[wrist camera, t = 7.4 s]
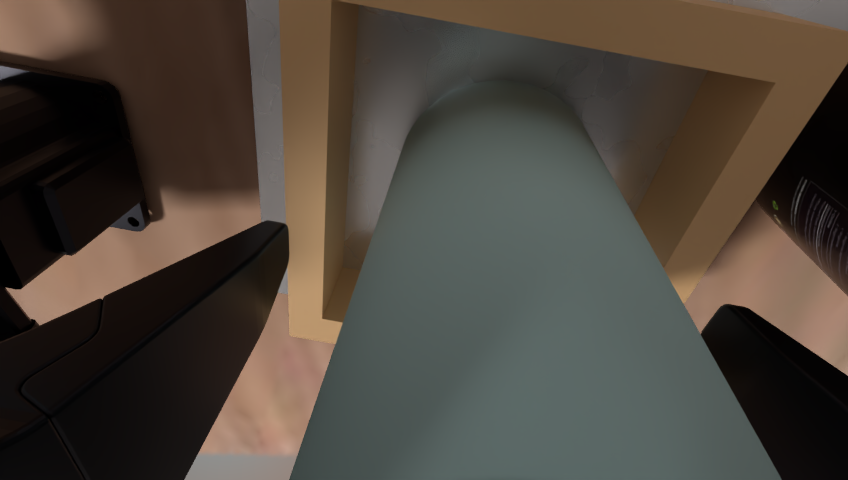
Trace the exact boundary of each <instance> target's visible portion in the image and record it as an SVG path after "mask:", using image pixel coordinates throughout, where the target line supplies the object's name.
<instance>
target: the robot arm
mask: <svg viewBox="0 0 848 480" xmlns="http://www.w3.org/2000/svg"><path fill="white" fill-rule="evenodd" d="M100 91H101V92H102V93H103V94H104V95H105V97H106V98H107V100H105V99H104V98H103V97H102V96H101V94H100ZM135 218H136V219H137V220H138V221H137V220H136V219H135ZM149 224H150V216H149V212H148V208H147V204H146V200H145V195H144V191H143V187H142V183H141V179H140V174H139V170H138V166H137V162H136V158H135V154H134V150H133V146H132V143H131V138H130V134H129V130H128V126H127V122H126V118H125V114H124V110H123V106H122V102H121V97H120V95H119V92H118V91H117V89H116V88H115V87H114V86H113V85H112V84H110V83H109V82H106V81H104V80H98V79H93V78H88V77H82V76H77V75H71V74H66V73H60V72H55V71H50V70H44V69H39V68H33V67H28V66H23V65H17V64H12V63H6V62H1V61H0V480H184V479H185V477H186V475H187V473H188V471H189V469H190V468H191V466H192V464H193V462H194V460H195V458H196V456H197V454H198V453H199V451H200V449H201V447H202V445H203V443H204V441H205V439H206V437H207V436H208V434H209V432H210V430H211V428H212V426H213V424H214V422H215V420H216V419H217V417H218V415H219V413H220V411H221V409H222V407H223V405H224V403H225V401H226V400H227V398H228V396H229V394H230V392H231V390H232V388H233V386H234V384H235V383H236V381H237V379H238V377H239V375H240V373H241V371H242V369H243V367H244V366H245V364H246V362H247V360H248V358H249V356H250V354H251V352H252V350H253V349H254V347H255V345H256V343H257V341H258V339H259V337H260V335H261V333H262V331H263V329H264V327H265V324H266V322H267V319H268V317H269V314H270V311H271V309H272V306H273V303H274V301H275V298H276V296H277V293H278V290H279V288H280V285H281V282H282V280H283V277H284V275H285V272H286V269H287V266H288V263H289V229H288V226H287V225H286V224H285V223H281V222H276V221H271V220H266V221H264V222H261V223H259V224H257V225H255V226H253V227H251V228H249V229H247V230H244V231H242V232H240V233H238V234H236V235H234V236H232V237H229V238H227V239H225V240H223V241H221V242H219V243H217V244H215V245H212V246H210V247H208V248H206V249H204V250H202V251H200V252H198V253H195V254H193V255H191V256H189V257H187V258H185V259H183V260H181V261H178V262H176V263H174V264H172V265H170V266H168V267H166V268H163V269H161V270H159V271H157V272H155V273H153V274H151V275H149V276H146V277H144V278H142V279H140V280H138V281H136V282H134V283H131V284H129V285H127V286H125V287H123V288H121V289H119V290H117V291H114V292H112V293H110V294H108V295H106V296H104V298H103V300H102V299H97V300H95V301H93V302H91V303H89V304H86V305H84V306H82V307H80V308H78V309H76V310H74V311H71V312H69V313H67V314H65V315H62V316H60V317H58V318H56V319H53V320H51V321H49V322H47V323H45V324H42V325H40V326H39V324H38V323H37V322H36V321H35V320H33V319H30V318H29V317H28V316H27V314H26V313H25V312H24V311H23V309H22V308H21V307H20V306H19V304H18V303H17V302H16V301H15V299H14V298H13V297H12V296H11V294H10V293H9V292H8V291H7V289H6V288H5V287H7V288H12V289H22V288H23V287H24V286H25V285H27V284H28V283H29V282H31V281H32V280H33V279H34V278H36V277H37V276H38V275H39V274H41V273H42V272H43V271H45V270H46V269H47V268H48V267H50V266H51V265H52V264H54V263H55V262H56V261H57V260H59V259H60V258H61V257H63V256H64V255H71V256H72V255H74V254H76V253H77V252H78V251H80V250H81V249H82V248H83V247H85V246H86V245H87V244H88V243H90V242H91V241H92V240H93V239H95V238H96V237H97V236H98V235H100V234H101V233H102V232H103V231H105V230H106V229H107V228H108V227H115V228H120V229H126V230H131V231H142V230H144V229H145V228H146V227H147V226H148V225H149ZM701 336H702V338H703V340H704V342H705V343H706V345H707V347H708V349H709V351H710V352H711V354H712V356H713V358H714V360H715V361H716V363H717V365H718V367H719V368H720V370H721V372H722V374H723V376H724V377H725V379H726V381H727V383H728V384H729V386H730V388H731V390H732V392H733V393H734V395H735V397H736V399H737V401H738V402H739V404H740V406H741V408H742V409H743V411H744V413H745V415H746V417H747V418H748V420H749V422H750V424H751V426H752V427H753V429H754V431H755V433H756V434H757V436H758V438H759V440H760V442H761V443H762V445H763V447H764V449H765V451H766V452H767V454H768V456H769V458H770V459H771V461H772V463H773V465H774V467H775V468H776V470H777V472H778V474H779V476H780V477H781V479H782V480H848V376H847V375H846V374H844V373H843V372H841V371H840V370H838V369H837V368H835V367H834V366H832V365H831V364H829V363H828V362H827V361H825V360H824V359H822V358H821V357H819V356H818V355H816V354H815V353H813V352H812V351H810V350H809V349H807V348H806V347H804V346H803V345H802V344H800V343H799V342H797V341H796V340H794V339H793V338H791V337H790V336H788V335H787V334H785V333H784V332H782V331H781V330H780V329H778V328H777V327H775V326H774V325H772V324H771V323H769V322H768V321H766V320H765V319H763V318H762V317H760V316H759V315H757V314H756V313H755V312H753V311H752V310H750V309H748V308H746V307H742V306H736V305H731V304H725V305H723V306H721V307H720V308H719V309H718V310H717V312H716V313H715V314H714V316H713V317H712V318H711V320H710V321H709V322H708V324H707V325H706V326H705V328H704V329H703V331H702V333H701Z"/></svg>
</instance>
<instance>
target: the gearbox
mask: <svg viewBox="0 0 848 480" xmlns="http://www.w3.org/2000/svg"><path fill="white" fill-rule="evenodd" d="M246 10H247V24H248V38H249V52H250V66H251V81H252V95H253V109H254V123H255V137H256V151H257V165H258V180H259V194H260V208H261V222H264V221H266V220H271V221H276V222H281V223H285V224H286V225H287V226H288V229H289V263H288V266H287V269H286V272H285V275H284V277H283V280H282V282H281V285H280V288H279V290H278V293H284V294H288V302H289V333H290V336H293V337H299V338H304V339H310V340H315V341H321V342H327V343H332V344H336V341H337V338H338V335H339V333H340V330H341V327H342V324H343V321H344V318H345V315H346V312H347V309H348V306H349V303H350V300H351V297H352V294H353V291H354V289H355V286H356V283H357V280H358V277H359V274H360V271H361V268H362V265H363V262H364V259H365V256H366V253H367V250H368V247H369V245H370V242H371V239H372V236H373V233H374V230H375V227H376V224H377V221H378V218H379V215H380V212H381V209H382V206H383V203H384V201H385V198H386V195H387V192H388V189H389V186H390V183H391V180H392V177H393V174H394V171H395V168H396V165H397V162H398V160H399V157H400V154H401V151H402V148H403V145H404V142H405V140H406V137H407V135H408V134H409V132H410V130H411V128H412V126H413V125H414V124H415V122H416V121H417V119H418V118H419V117H420V116H421V115H422V114H423V113H424V112H425V111H426V109H427V108H428V107H430V106H431V105H432V104H433V103H435V102H436V101H437V100H438V99H440V98H442V97H443V96H445V95H447V94H448V93H450V92H452V91H454V90H457V89H459V88H461V87H464V86H467V85H471V84H474V83H478V82H485V81H492V80H508V81H516V82H522V83H526V84H530V85H534V86H536V87H538V88H541V89H543V90H546V91H548V92H549V93H551V94H553V95H554V96H556V97H558V98H559V99H560V100H561V101H563V102H564V103H565V104H566V105H568V106H569V107H570V109H571V110H572V111H573V112H574V113H575V114H576V115H577V117H578V118H579V120H580V121H581V123H582V124H583V126H584V127H585V129H586V131H587V133H588V135H589V136H590V138H591V140H592V142H593V143H594V145H595V147H596V149H597V151H598V152H599V154H600V156H601V158H602V160H603V161H604V163H605V165H606V167H607V168H608V170H609V172H610V174H611V176H612V177H613V179H614V181H615V183H616V185H617V186H618V188H619V190H620V192H621V193H622V195H623V197H624V199H625V201H626V202H627V204H628V206H629V208H630V210H631V211H632V213H633V215H634V217H635V218H636V220H637V222H638V224H639V226H640V227H641V229H642V231H643V233H644V235H645V236H646V238H647V240H648V242H649V243H650V245H651V247H652V249H653V251H654V252H655V254H656V256H657V258H658V260H659V261H660V263H661V265H662V267H663V268H664V270H665V272H666V274H667V276H668V277H669V279H670V281H671V283H672V285H673V286H674V288H675V290H676V292H677V293H678V295H679V297H680V299H681V301H682V302H683V304H684V303H685V302H686V300H687V299H688V297H689V296H690V294H691V293H692V291H693V290H694V288H695V287H696V285H697V284H698V282H699V281H700V279H701V278H702V277H703V275H704V274H705V272H706V271H707V269H708V268H709V266H710V265H711V263H712V262H713V260H714V259H715V257H716V256H717V254H718V253H719V252H720V250H721V249H722V247H723V246H724V244H725V243H726V241H727V240H728V238H729V237H730V235H731V234H732V232H733V231H734V229H735V228H736V227H737V225H738V224H739V222H740V221H741V219H742V218H743V216H744V215H745V213H746V212H747V210H748V209H749V207H750V206H751V204H752V203H753V202H754V200H755V199H756V197H757V196H758V194H759V193H760V191H761V190H762V188H763V187H764V185H765V184H766V182H767V181H768V179H769V178H770V177H771V175H772V174H773V172H774V171H775V169H776V168H777V166H778V165H779V163H780V162H781V160H782V159H783V157H784V156H785V154H786V153H787V152H788V150H789V149H790V147H791V146H792V144H793V143H794V141H795V140H796V138H797V137H798V135H799V134H800V132H801V131H802V129H803V128H804V127H805V125H806V124H807V122H808V121H809V119H810V118H811V116H812V115H813V113H814V112H815V110H816V109H817V107H818V106H819V104H820V103H821V102H822V100H823V99H824V97H825V96H826V94H827V93H828V91H829V90H830V88H831V87H832V85H833V84H834V82H835V81H836V79H837V78H838V77H839V75H840V74H841V72H842V71H843V69H844V68H845V66H846V65H847V63H848V0H246Z"/></svg>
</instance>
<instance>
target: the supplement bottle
mask: <svg viewBox="0 0 848 480" xmlns="http://www.w3.org/2000/svg"><path fill="white" fill-rule="evenodd" d="M756 201H757V202H758V204H759V205H760V207H761V208H762V209H763V210H764V211H765V212H766V214H767V215H768V216H769V217H770V218H771V219H772V220H773V221H774V222H775V223H776V224H777V225H778V226H779V227H780V228H781V229H782V230H783V231H784V232H785V233H786V234H787V235H788V236H789V238H790V239H791V240H792V241H793V242H794V243H795V244H796V245H797V246H798V247H799V248H800V249H801V250H802V251H803V252H804V253H805V254H806V255H807V256H808V257H809V258H810V259H811V260H812V261H813V262H814V263H815V264H816V265H817V266H818V267H819V268H820V269H821V270H822V271H823V272H824V273H825V274H826V275H827V276H828V277H829V278H830V279H831V280H832V281H833V282H834V283H835V284H836V285H837V286H838V287H839V288H840V289H841V290H842V291H843V292H844V293H845V294H846V295H847V296H848V63H847V65H846V66H845V68H844V69H843V71H842V72H841V74H840V75H839V77H838V78H837V79H836V81H835V82H834V84H833V85H832V87H831V88H830V90H829V91H828V93H827V94H826V96H825V97H824V99H823V100H822V102H821V103H820V104H819V106H818V107H817V109H816V110H815V112H814V113H813V115H812V116H811V118H810V119H809V121H808V122H807V124H806V125H805V127H804V128H803V129H802V131H801V132H800V134H799V135H798V137H797V138H796V140H795V141H794V143H793V144H792V146H791V147H790V149H789V150H788V152H787V153H786V154H785V156H784V157H783V159H782V160H781V162H780V163H779V165H778V166H777V168H776V169H775V171H774V172H773V174H772V175H771V177H770V178H769V179H768V181H767V182H766V184H765V185H764V187H763V188H762V190H761V191H760V193H759V194H758V196H757V197H756Z"/></svg>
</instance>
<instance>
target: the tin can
mask: <svg viewBox="0 0 848 480" xmlns="http://www.w3.org/2000/svg"><path fill="white" fill-rule="evenodd" d="M289 480H782V479H781V477H780V476H779V474H778V472H777V470H776V468H775V467H774V465H773V463H772V461H771V459H770V458H769V456H768V454H767V452H766V451H765V449H764V447H763V445H762V443H761V442H760V440H759V438H758V436H757V434H756V433H755V431H754V429H753V427H752V426H751V424H750V422H749V420H748V418H747V417H746V415H745V413H744V411H743V409H742V408H741V406H740V404H739V402H738V401H737V399H736V397H735V395H734V393H733V392H732V390H731V388H730V386H729V384H728V383H727V381H726V379H725V377H724V376H723V374H722V372H721V370H720V368H719V367H718V365H717V363H716V361H715V360H714V358H713V356H712V354H711V352H710V351H709V349H708V347H707V345H706V343H705V342H704V340H703V338H702V336H701V335H700V333H699V331H698V329H697V327H696V326H695V324H694V322H693V320H692V318H691V317H690V315H689V313H688V311H687V310H686V308H685V306H684V304H683V302H682V301H681V299H680V297H679V295H678V293H677V292H676V290H675V288H674V286H673V285H672V283H671V281H670V279H669V277H668V276H667V274H666V272H665V270H664V268H663V267H662V265H661V263H660V261H659V260H658V258H657V256H656V254H655V252H654V251H653V249H652V247H651V245H650V243H649V242H648V240H647V238H646V236H645V235H644V233H643V231H642V229H641V227H640V226H639V224H638V222H637V220H636V218H635V217H634V215H633V213H632V211H631V210H630V208H629V206H628V204H627V202H626V201H625V199H624V197H623V195H622V193H621V192H620V190H619V188H618V186H617V185H616V183H615V181H614V179H613V177H612V176H611V174H610V172H609V170H608V168H607V167H606V165H605V163H604V161H603V160H602V158H601V156H600V154H599V152H598V151H597V149H596V147H595V145H594V143H593V142H592V140H591V138H590V136H589V135H588V133H587V131H586V129H585V127H584V126H583V124H582V123H581V121H580V120H579V118H578V117H577V115H576V114H575V113H574V112H573V111H572V110H571V109H570V107H569V106H568V105H566V104H565V103H564V102H563V101H561V100H560V99H559V98H558V97H556V96H554V95H553V94H551V93H549V92H548V91H546V90H543V89H541V88H538V87H536V86H534V85H530V84H526V83H522V82H516V81H508V80H492V81H485V82H478V83H474V84H471V85H467V86H464V87H461V88H459V89H457V90H454V91H452V92H450V93H448V94H447V95H445V96H443V97H442V98H440V99H438V100H437V101H436V102H435V103H433V104H432V105H431V106H430V107H428V108H427V109H426V111H425V112H424V113H423V114H422V115H421V116H420V117H419V118H418V119H417V121H416V122H415V124H414V125H413V126H412V128H411V130H410V132H409V134H408V135H407V137H406V140H405V142H404V145H403V148H402V151H401V154H400V157H399V160H398V162H397V165H396V168H395V171H394V174H393V177H392V180H391V183H390V186H389V189H388V192H387V195H386V198H385V201H384V203H383V206H382V209H381V212H380V215H379V218H378V221H377V224H376V227H375V230H374V233H373V236H372V239H371V242H370V245H369V247H368V250H367V253H366V256H365V259H364V262H363V265H362V268H361V271H360V274H359V277H358V280H357V283H356V286H355V289H354V291H353V294H352V297H351V300H350V303H349V306H348V309H347V312H346V315H345V318H344V321H343V324H342V327H341V330H340V333H339V335H338V338H337V341H336V344H335V347H334V350H333V353H332V356H331V359H330V362H329V365H328V368H327V371H326V374H325V376H324V379H323V382H322V385H321V388H320V391H319V394H318V397H317V400H316V403H315V406H314V409H313V412H312V415H311V418H310V420H309V423H308V426H307V429H306V432H305V435H304V438H303V441H302V444H301V447H300V450H299V453H298V456H297V459H296V462H295V465H294V467H293V471H292V473H291V476H290V479H289Z"/></svg>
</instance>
